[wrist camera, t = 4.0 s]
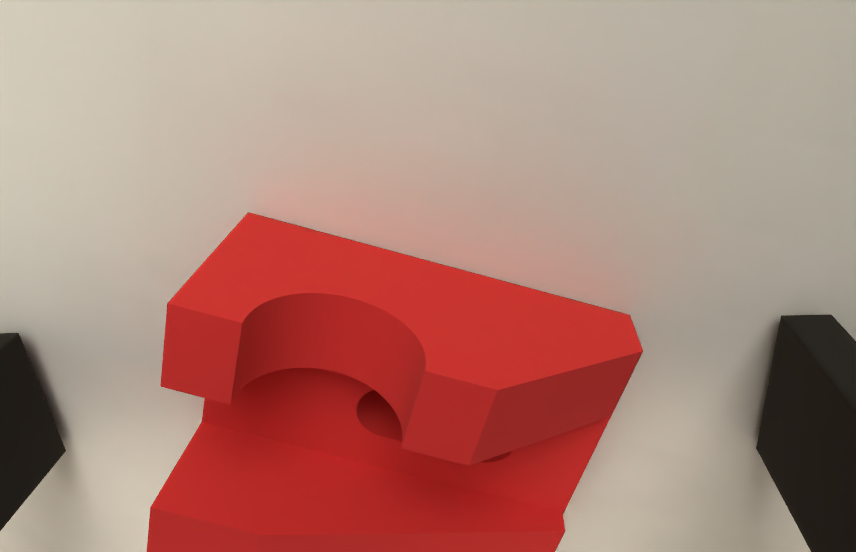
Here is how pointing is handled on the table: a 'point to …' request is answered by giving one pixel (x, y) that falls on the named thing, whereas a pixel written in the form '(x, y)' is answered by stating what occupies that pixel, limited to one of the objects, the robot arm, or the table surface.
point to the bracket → (378, 401)
